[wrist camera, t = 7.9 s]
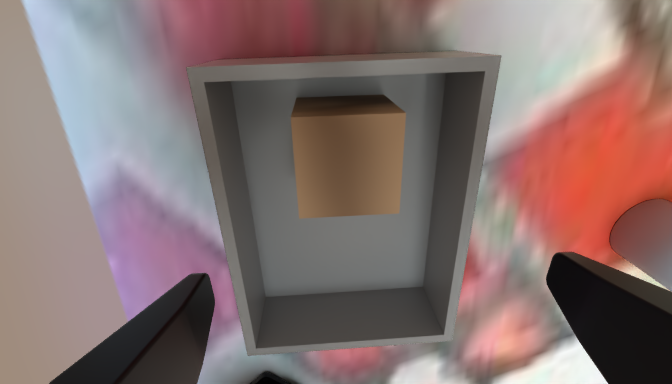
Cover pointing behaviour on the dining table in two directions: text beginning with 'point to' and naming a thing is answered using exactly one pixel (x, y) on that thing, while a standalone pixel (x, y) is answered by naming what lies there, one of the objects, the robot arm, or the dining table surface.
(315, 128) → the walnut cube
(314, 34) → the dining table surface
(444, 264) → the tote
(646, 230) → the slate cylinder
